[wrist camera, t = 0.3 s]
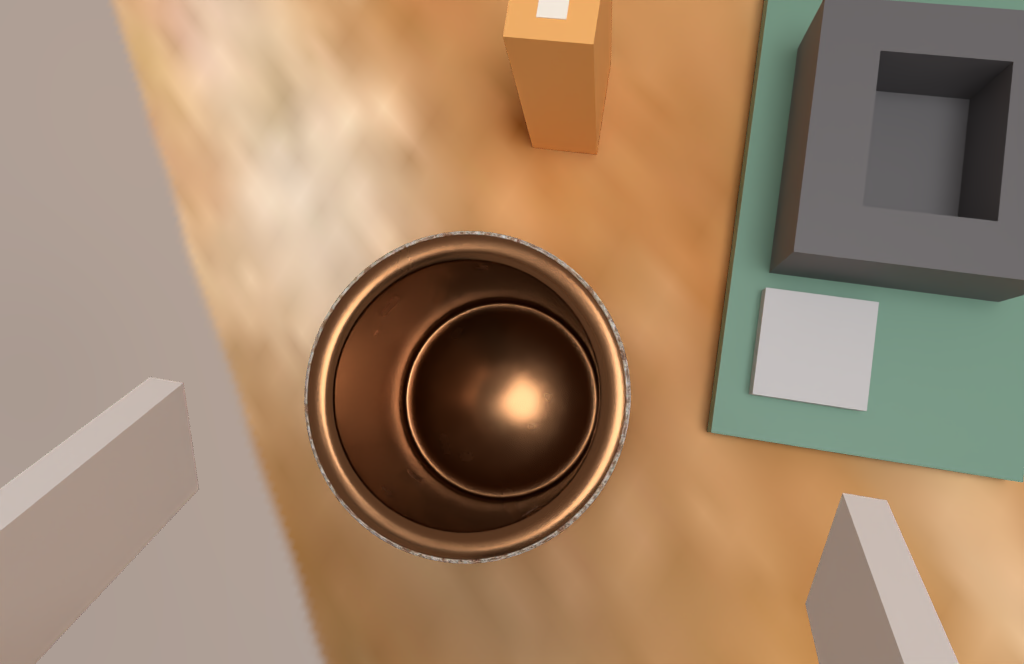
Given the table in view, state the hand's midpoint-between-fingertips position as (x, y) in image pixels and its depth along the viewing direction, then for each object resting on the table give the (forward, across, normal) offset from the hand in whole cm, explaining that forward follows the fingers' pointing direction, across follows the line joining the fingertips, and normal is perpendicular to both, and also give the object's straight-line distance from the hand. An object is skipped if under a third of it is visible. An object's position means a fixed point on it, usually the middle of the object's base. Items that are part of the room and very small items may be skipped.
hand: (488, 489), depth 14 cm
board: (+21, -13, -1) cm, 25 cm away
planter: (+16, +2, +8) cm, 18 cm away
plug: (+23, +1, -4) cm, 24 cm away
